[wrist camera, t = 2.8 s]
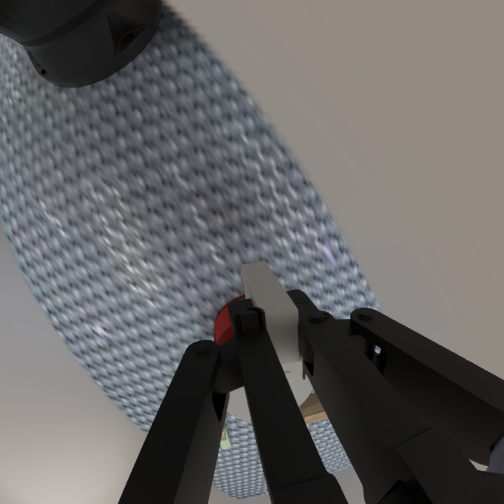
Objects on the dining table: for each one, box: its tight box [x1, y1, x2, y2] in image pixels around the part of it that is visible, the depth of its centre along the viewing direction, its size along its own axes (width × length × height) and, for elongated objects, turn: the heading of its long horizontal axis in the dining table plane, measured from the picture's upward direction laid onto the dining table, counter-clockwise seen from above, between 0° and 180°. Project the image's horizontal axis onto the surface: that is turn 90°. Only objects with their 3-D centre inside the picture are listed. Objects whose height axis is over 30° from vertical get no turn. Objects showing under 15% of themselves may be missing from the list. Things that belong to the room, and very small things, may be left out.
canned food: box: [214, 297, 313, 421], centre depth 25 cm, size 8×8×11 cm
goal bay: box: [220, 423, 308, 449], centre depth 35 cm, size 6×14×2 cm, turn 96°
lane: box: [221, 393, 328, 441], centre depth 31 cm, size 13×19×4 cm
